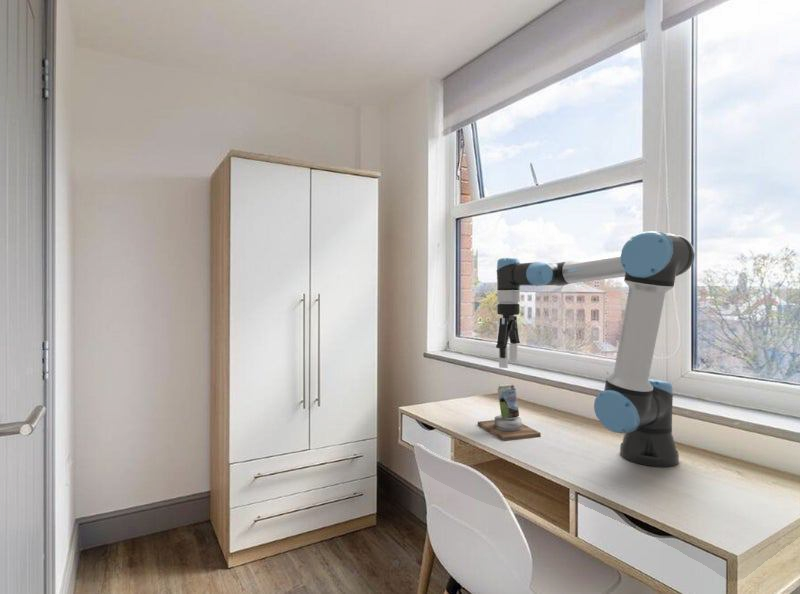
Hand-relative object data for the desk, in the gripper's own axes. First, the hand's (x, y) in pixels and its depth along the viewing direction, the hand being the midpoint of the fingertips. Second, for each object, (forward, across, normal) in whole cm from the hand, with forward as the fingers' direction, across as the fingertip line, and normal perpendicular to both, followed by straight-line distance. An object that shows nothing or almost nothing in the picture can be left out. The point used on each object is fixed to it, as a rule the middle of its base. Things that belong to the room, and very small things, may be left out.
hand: (508, 364), depth 162 cm
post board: (+23, 0, 0) cm, 23 cm away
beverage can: (+19, 0, 0) cm, 19 cm away
